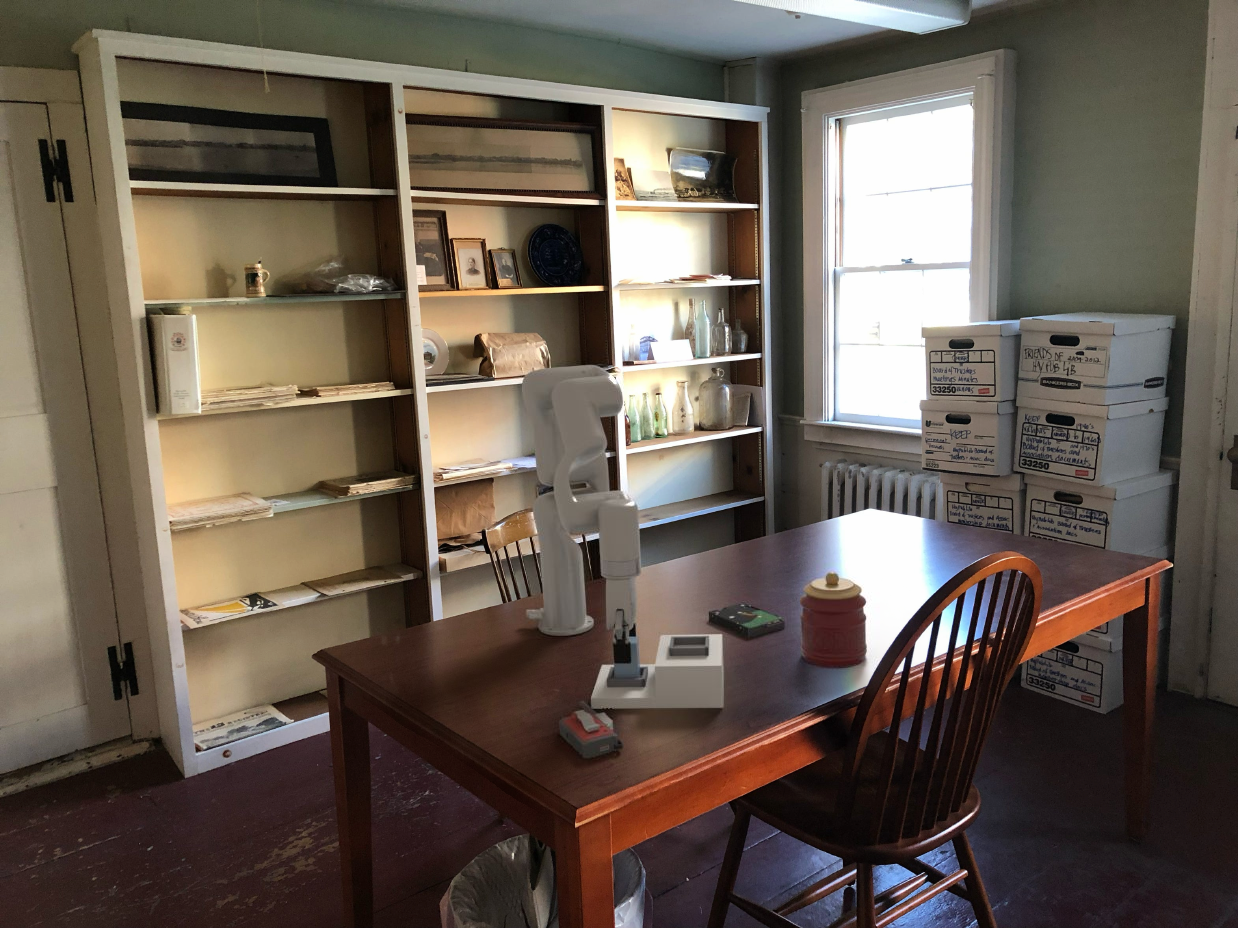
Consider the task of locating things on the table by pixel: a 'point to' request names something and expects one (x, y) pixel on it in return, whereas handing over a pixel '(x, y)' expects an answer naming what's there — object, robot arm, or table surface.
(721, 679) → the dock
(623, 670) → the plug
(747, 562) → the table surface
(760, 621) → the disk drive
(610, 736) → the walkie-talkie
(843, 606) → the canister
